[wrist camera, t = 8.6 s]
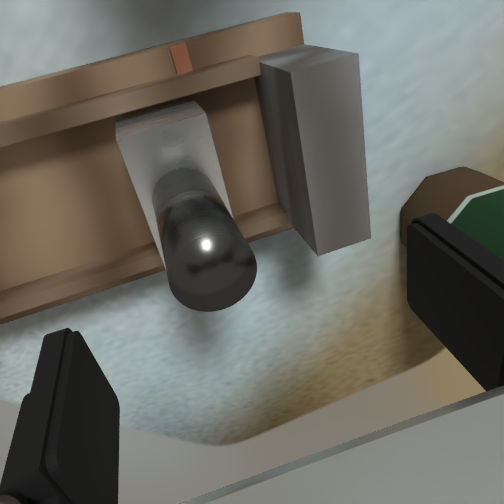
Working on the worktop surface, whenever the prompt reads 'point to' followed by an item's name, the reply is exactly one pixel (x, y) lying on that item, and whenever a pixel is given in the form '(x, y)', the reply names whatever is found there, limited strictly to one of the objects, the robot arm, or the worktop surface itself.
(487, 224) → the beer bottle
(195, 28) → the worktop surface
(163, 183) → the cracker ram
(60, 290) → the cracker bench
